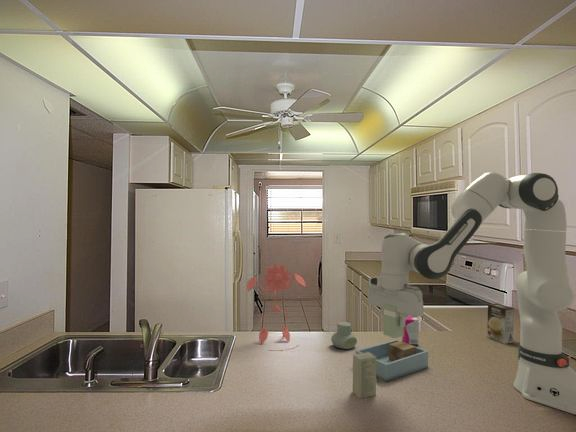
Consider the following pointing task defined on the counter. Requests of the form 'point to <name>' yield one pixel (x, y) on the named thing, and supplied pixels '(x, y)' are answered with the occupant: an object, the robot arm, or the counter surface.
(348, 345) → the air freshener
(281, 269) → the figurine
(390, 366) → the tote
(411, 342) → the supplement box
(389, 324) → the carton
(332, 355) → the counter surface
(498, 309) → the coffee box
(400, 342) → the walnut block
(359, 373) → the skincare box
